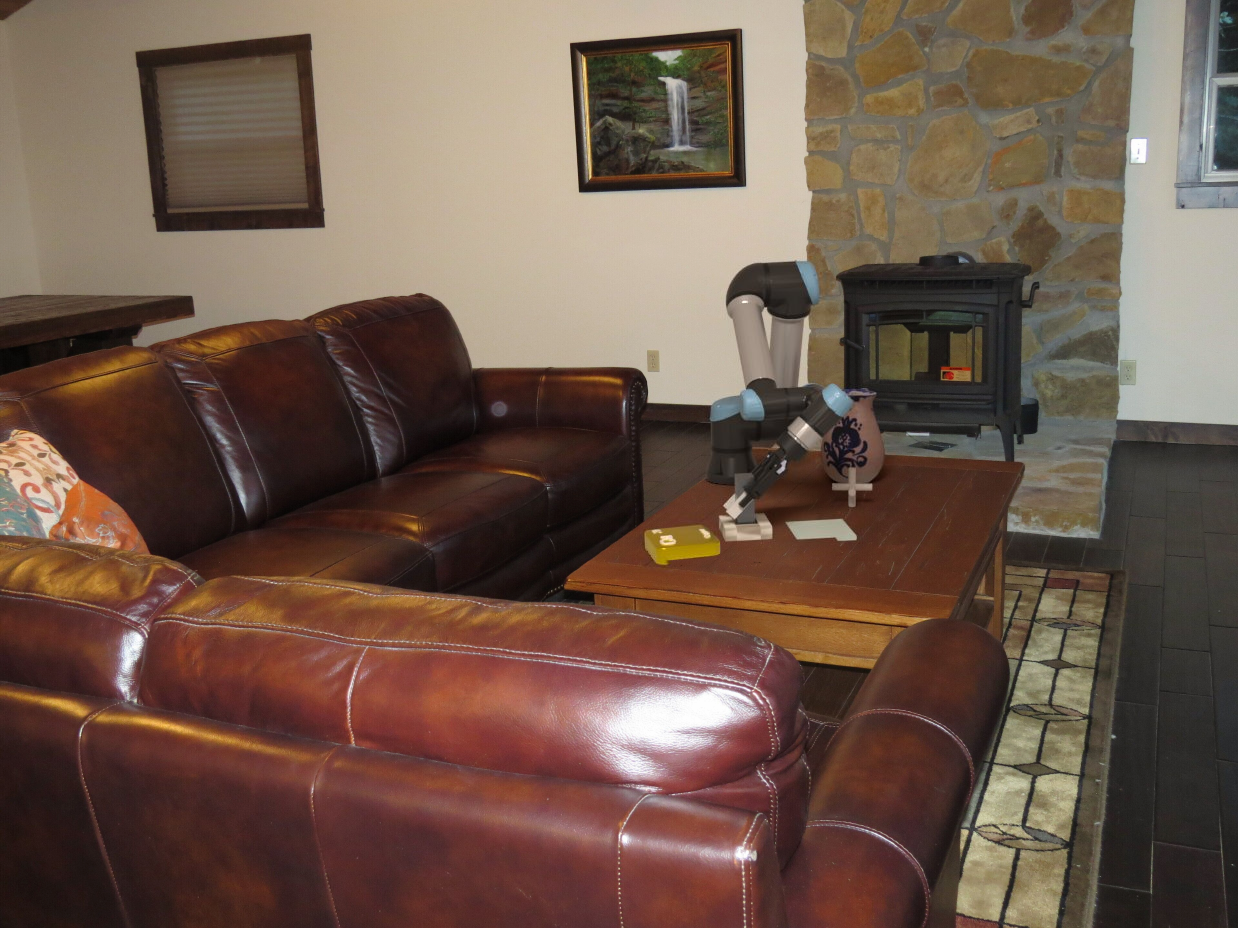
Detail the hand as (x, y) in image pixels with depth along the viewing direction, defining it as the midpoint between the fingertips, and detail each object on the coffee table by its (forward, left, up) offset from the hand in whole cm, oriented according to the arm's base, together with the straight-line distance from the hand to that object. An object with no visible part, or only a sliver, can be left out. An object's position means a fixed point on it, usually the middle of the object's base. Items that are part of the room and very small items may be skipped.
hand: (729, 512), depth 267 cm
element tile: (+9, -12, -7) cm, 17 cm away
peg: (0, +4, -5) cm, 6 cm away
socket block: (0, +4, -6) cm, 7 cm away
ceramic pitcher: (-47, +42, -7) cm, 63 cm away
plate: (0, +22, -6) cm, 23 cm away
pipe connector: (-21, +35, -7) cm, 41 cm away
